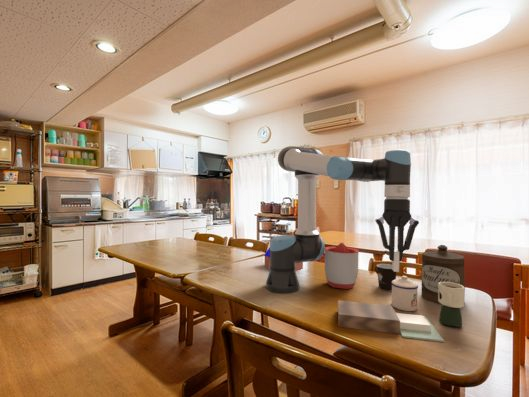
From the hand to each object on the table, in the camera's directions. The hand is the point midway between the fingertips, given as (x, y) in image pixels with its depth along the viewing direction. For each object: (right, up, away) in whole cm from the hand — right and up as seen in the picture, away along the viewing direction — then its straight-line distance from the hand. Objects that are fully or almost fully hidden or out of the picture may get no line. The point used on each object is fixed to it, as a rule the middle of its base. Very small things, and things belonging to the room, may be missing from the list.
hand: (395, 270), depth 89 cm
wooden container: (+30, -18, +23) cm, 42 cm away
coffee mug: (+13, -18, +37) cm, 43 cm away
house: (-32, -17, +69) cm, 78 cm away
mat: (+6, -18, -1) cm, 19 cm away
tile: (+5, -17, -1) cm, 18 cm away
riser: (-9, -18, +2) cm, 20 cm away
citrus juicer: (-7, -17, +40) cm, 44 cm away
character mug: (+18, -18, +1) cm, 26 cm away
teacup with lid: (+11, -18, +16) cm, 26 cm away
